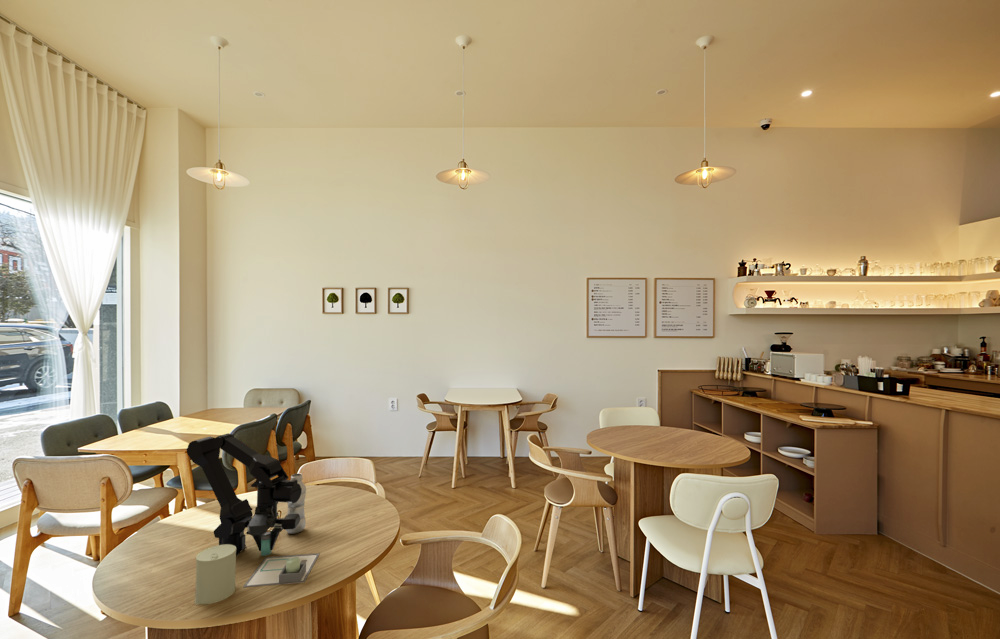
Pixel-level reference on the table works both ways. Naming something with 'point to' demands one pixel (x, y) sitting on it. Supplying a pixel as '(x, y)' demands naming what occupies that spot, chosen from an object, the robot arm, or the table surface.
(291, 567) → the key
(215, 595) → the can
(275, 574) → the activity board
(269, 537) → the teal cylinder
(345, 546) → the table surface
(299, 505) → the plastic bottle
